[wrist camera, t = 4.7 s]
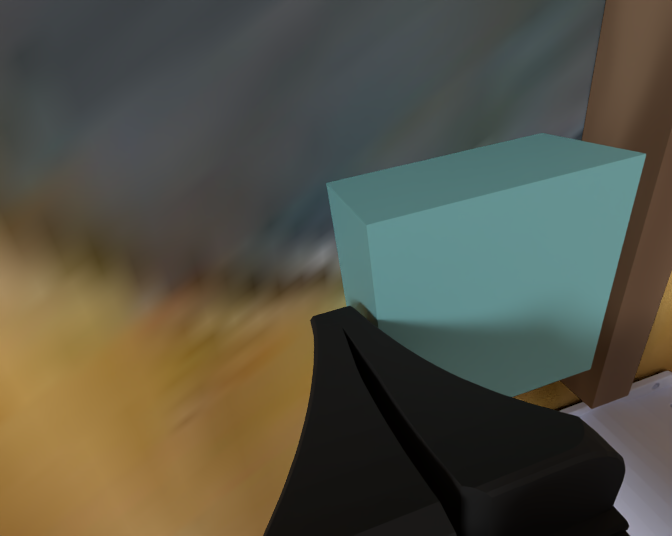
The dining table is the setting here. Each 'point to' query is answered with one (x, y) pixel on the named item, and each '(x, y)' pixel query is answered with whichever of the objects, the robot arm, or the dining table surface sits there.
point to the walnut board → (653, 189)
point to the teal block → (490, 255)
